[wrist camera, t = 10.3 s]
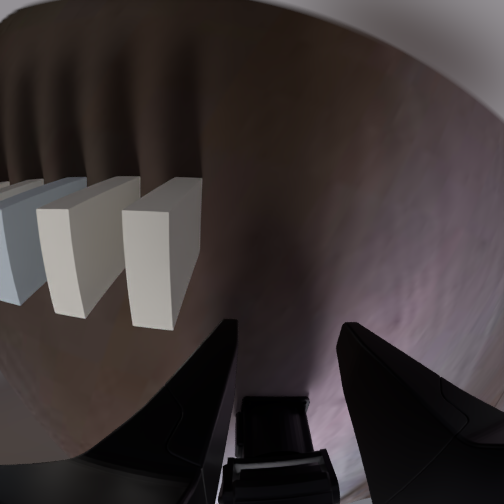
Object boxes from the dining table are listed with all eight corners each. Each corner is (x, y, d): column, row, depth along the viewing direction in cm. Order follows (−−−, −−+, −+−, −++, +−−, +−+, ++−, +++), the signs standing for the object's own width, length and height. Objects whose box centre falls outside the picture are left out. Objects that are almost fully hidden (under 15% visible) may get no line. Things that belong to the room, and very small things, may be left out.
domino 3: (140, 176, 18) (68, 209, 10) (141, 247, 20) (85, 318, 12) (116, 176, 18) (36, 209, 10) (119, 245, 20) (55, 312, 11)
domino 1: (43, 178, 18) (-42, 210, 9) (49, 240, 19) (-23, 294, 11) (27, 179, 17) (-55, 210, 9) (34, 239, 19) (-37, 289, 11)
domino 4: (202, 178, 18) (168, 212, 10) (199, 251, 20) (172, 330, 12) (175, 176, 18) (121, 210, 10) (174, 249, 20) (132, 325, 12)
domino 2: (86, 177, 18) (1, 209, 9) (90, 243, 20) (20, 305, 11) (67, 177, 18) (-20, 209, 9) (71, 242, 20) (-1, 300, 11)
